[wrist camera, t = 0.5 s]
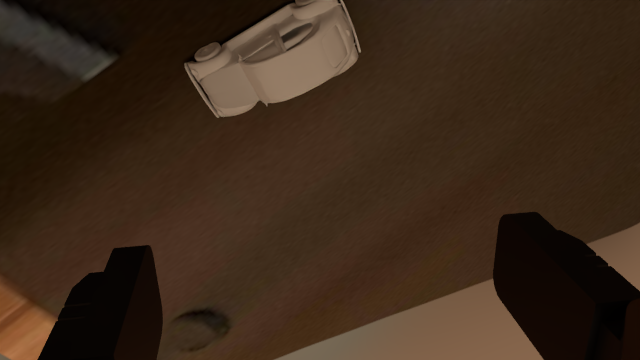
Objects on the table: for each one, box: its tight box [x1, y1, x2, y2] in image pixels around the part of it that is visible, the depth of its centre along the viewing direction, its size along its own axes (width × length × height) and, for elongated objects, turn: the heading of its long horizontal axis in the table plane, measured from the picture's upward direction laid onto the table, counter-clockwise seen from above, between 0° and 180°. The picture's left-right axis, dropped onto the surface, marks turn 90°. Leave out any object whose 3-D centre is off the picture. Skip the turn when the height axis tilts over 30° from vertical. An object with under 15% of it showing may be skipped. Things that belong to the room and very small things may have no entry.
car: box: [184, 0, 361, 118], centre depth 39 cm, size 12×6×5 cm, turn 112°
